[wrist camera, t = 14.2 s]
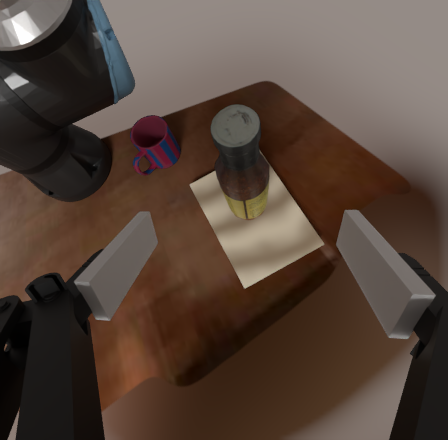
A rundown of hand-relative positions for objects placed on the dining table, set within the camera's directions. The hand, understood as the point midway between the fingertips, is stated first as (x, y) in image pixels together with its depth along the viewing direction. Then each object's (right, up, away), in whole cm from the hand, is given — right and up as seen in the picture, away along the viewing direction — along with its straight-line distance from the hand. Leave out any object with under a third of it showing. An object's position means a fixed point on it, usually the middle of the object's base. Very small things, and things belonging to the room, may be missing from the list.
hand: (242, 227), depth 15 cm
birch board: (+4, +1, +22) cm, 23 cm away
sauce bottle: (+3, +3, +21) cm, 22 cm away
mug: (-14, +12, +28) cm, 34 cm away
